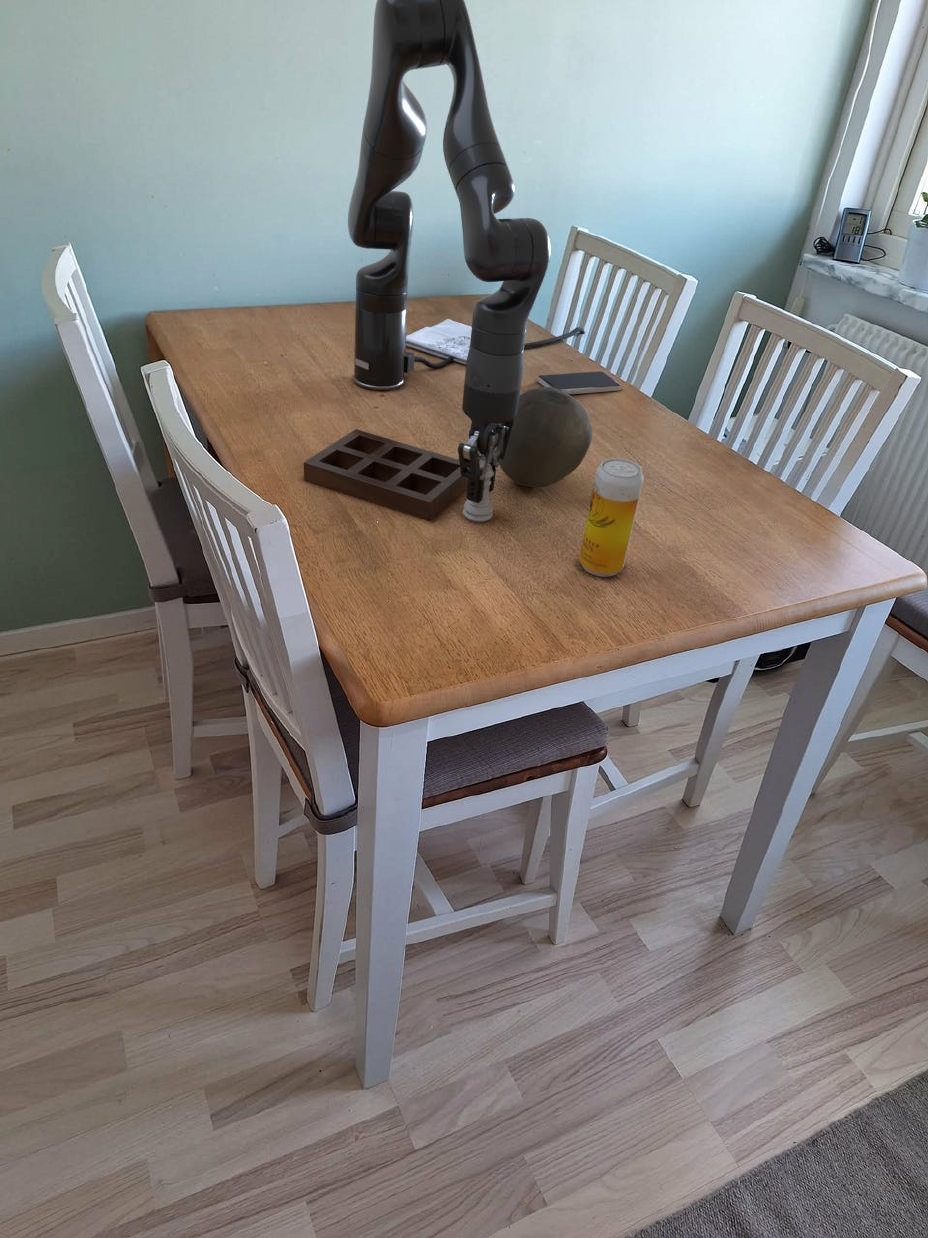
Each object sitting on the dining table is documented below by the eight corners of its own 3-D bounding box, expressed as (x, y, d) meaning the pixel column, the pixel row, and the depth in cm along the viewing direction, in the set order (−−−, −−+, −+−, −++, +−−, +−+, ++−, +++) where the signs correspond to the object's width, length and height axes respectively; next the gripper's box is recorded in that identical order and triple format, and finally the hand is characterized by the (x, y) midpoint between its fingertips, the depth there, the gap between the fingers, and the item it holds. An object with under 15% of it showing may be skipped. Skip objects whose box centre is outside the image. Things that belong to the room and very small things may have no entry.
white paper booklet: (395, 345, 187) (396, 334, 185) (448, 323, 201) (448, 314, 200) (473, 369, 179) (474, 358, 178) (521, 345, 194) (522, 335, 192)
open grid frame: (355, 445, 146) (355, 428, 144) (473, 481, 139) (475, 464, 137) (303, 480, 135) (303, 461, 133) (428, 520, 128) (430, 502, 126)
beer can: (574, 554, 124) (593, 455, 115) (617, 555, 125) (639, 457, 116) (582, 578, 119) (603, 476, 110) (627, 579, 120) (650, 479, 111)
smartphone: (622, 385, 176) (556, 390, 170) (621, 391, 177) (555, 396, 171) (601, 370, 182) (537, 375, 176) (600, 376, 183) (536, 380, 177)
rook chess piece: (489, 525, 128) (495, 475, 124) (459, 520, 129) (464, 469, 124) (495, 511, 132) (501, 462, 127) (465, 506, 132) (470, 456, 128)
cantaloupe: (519, 510, 133) (533, 415, 124) (475, 469, 143) (485, 378, 134) (597, 496, 139) (615, 405, 130) (550, 458, 149) (564, 370, 140)
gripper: (496, 403, 112) (482, 523, 122) (538, 371, 123) (522, 483, 133) (443, 388, 114) (434, 507, 124) (489, 358, 125) (477, 470, 135)
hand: (480, 494), depth 128 cm, fingers closed on rook chess piece, 3 cm apart
